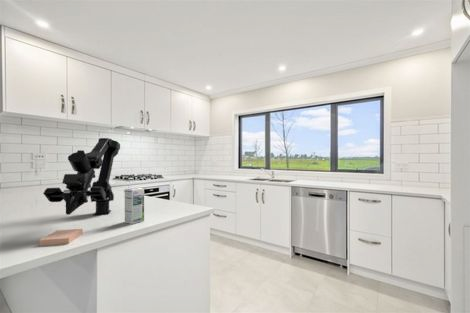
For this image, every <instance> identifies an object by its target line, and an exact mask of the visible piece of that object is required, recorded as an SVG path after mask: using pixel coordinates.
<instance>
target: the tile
mask: <svg viewBox="0 0 470 313" xmlns="http://www.w3.org/2000/svg"><path fill="white" fill-rule="evenodd" d="M82 235H83V228H74V229H57V230H55V231H53V232H51V233H49V234H48V235H46V236H44V237H43V238H41V239H39V242H38V244H39V247H42V246H43V247H45V246H59V245H69V244H71V243H72V242H73V241H75V240H77V239H78V238H79V237H80V236H82Z"/></svg>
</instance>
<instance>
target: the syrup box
mask: <svg viewBox="0 0 470 313" xmlns="http://www.w3.org/2000/svg"><path fill="white" fill-rule="evenodd" d="M123 194H124V222H125V223H127V224H129V225H134V224H137V223H140V222H145V188H144V187H137V186H136V187H132V188H131V187H130V188H124V193H123Z"/></svg>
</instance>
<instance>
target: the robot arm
mask: <svg viewBox="0 0 470 313" xmlns="http://www.w3.org/2000/svg"><path fill="white" fill-rule="evenodd" d="M120 149H121V143H119V142H118V141H117V140H114V139H112V138H109V137H100V138H98V142H97V143H96V144H95V146H94V147H93V148H92V149H91V151H89V152H87V153H85V151H84V150H81V149H80V150H77V151H76V152H73V153H71V154H70V155H68V157H67V160H68V162H69V165H71V167H72V169H73V171H75V172H76V173H65V174H63V175H64V176H63V178H62V184H64V185H65V188H66V189H63V190H62V189H61V187H46V189H45V190H44V191H43V193H42V194H43V195H44V196H45V198H46V199H47V201H49V202H50V203H61V202H63V201H64V202H65V214H66V215H67V216H69V215H71V214H72V213H73V212H74V211H76V210H77V209H78V208H79V207H81V206H83V205H84V204H86V203H88V202H89V200H88V199H89V198H90V202H92V203H93V202H95V212H94V213H93V214H92V215H93V216H98V215H99V216H100V215H109V214H110V213H111V212H112V210H111V209H110V202H112V201H114V199H115V197H114V196H115V194H114V192H113V190H112V185H111V183H110V179H111V178H110V177H111V173H112V169H113V168H112V167H113V165H114V164H113V163H114V158H115V157H116V156H117V155H118V154H119V151H120ZM99 169H100V170H99ZM95 170H99V173H98V174H99V175H98V179H97V180H96V181H93V182H92V180H93V179H95V178H96V171H95ZM91 183H92V184H91Z"/></svg>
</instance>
